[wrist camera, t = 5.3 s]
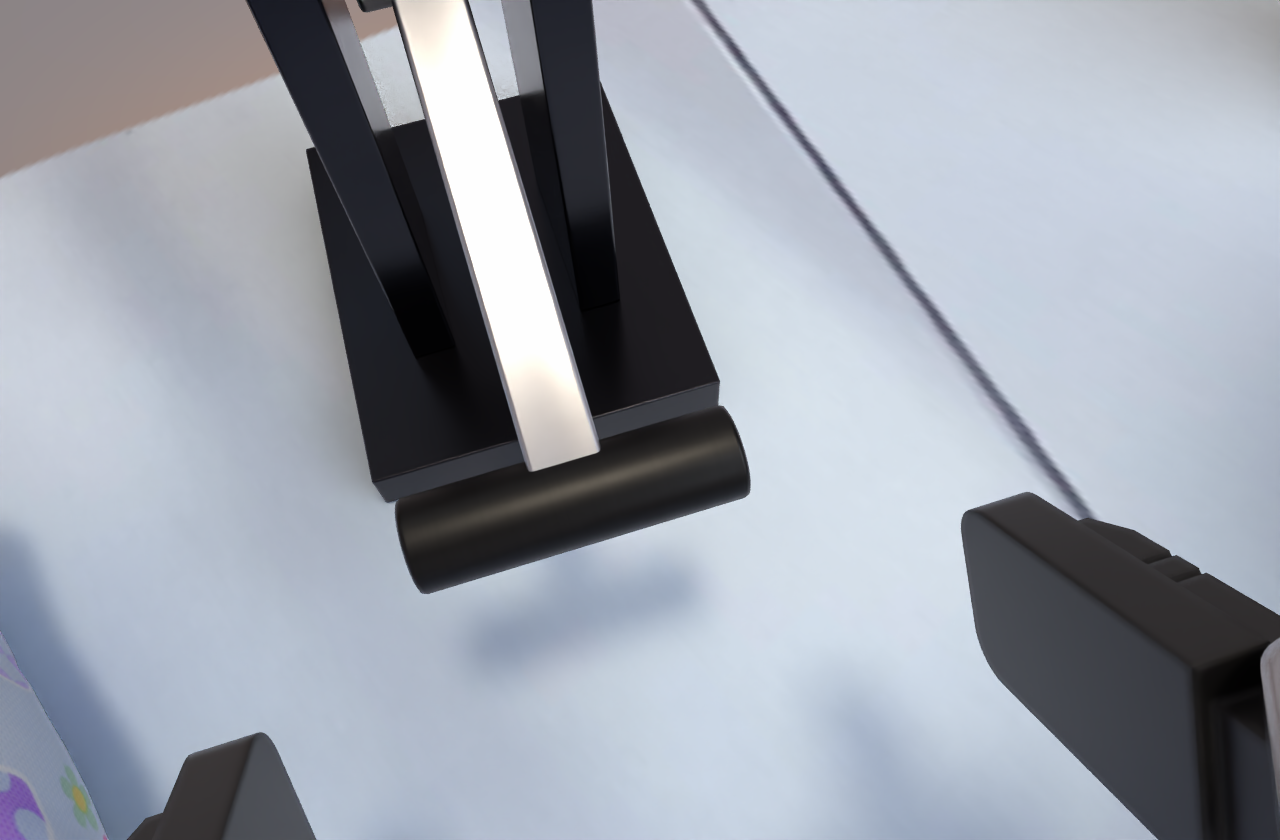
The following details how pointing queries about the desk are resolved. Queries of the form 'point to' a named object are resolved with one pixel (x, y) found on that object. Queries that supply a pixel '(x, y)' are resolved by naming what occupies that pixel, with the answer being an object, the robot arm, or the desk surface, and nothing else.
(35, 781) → the pencil case
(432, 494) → the metal lever
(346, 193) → the lever bracket
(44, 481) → the desk surface
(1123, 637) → the robot arm
